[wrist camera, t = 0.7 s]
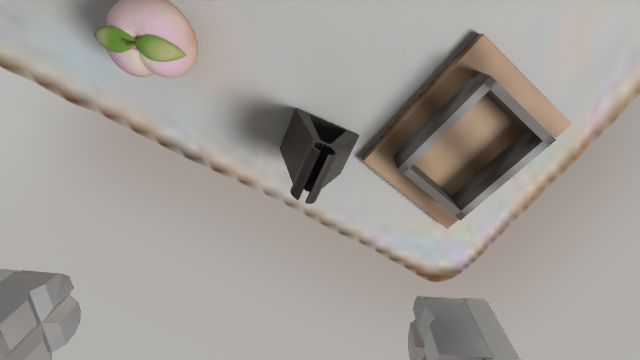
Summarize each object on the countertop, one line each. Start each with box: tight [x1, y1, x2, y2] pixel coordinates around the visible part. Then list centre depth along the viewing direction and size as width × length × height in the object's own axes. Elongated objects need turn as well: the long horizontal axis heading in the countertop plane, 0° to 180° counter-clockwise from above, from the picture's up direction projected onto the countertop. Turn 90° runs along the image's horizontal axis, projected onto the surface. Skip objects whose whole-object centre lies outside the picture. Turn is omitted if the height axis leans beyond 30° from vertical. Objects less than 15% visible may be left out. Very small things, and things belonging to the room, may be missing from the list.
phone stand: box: [280, 108, 359, 204], centre depth 41 cm, size 9×6×12 cm, turn 66°
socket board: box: [363, 34, 571, 229], centre depth 43 cm, size 20×16×6 cm
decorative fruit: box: [95, 0, 198, 78], centre depth 37 cm, size 9×8×10 cm
